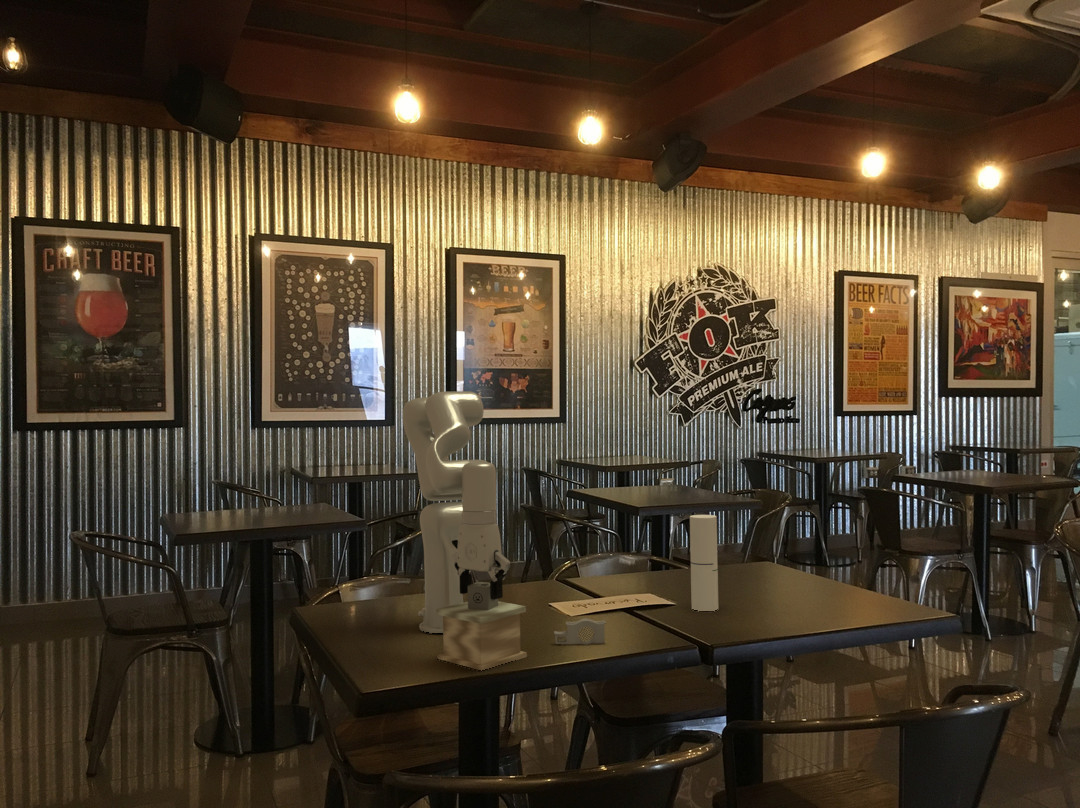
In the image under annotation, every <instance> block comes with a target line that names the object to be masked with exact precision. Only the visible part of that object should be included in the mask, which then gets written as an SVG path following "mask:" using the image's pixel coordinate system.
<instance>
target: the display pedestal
mask: <svg viewBox="0 0 1080 808" xmlns="http://www.w3.org/2000/svg"><path fill="white" fill-rule="evenodd" d="M526 612H527V606H526V605H520V604H515V603H510V602H505V601H499V600H498V606H496V607H494V608H492V609H490V610H478V609H468V601H465V602H464V601H463V603H460V604H455V605H451V606H447V607H443V608H439V609H436V614H437V615H441V616H443V634H442V637H443V639H442V640H443V642H442V643H443V648H442V649H443V653H440V654H437V656H436V658H438V659H441V660H446V661H449V662H453V663H456V664H459V665H463V666H467V667H471V668H474V669H478V670H481V671H482V670H485V669H488V670H490V669H489V668H491V669H493V668H492V667H494V668H496V667H495V666H497V667H499V666H498V665H500V666H502V665H501V664H503V665H506V664H505V663H507V664H509V663H508V662H510V663H512V662H511V661H513V662H516V661H518V660H521V659H525V658H528V653H527V652H526V651H522V650H521V614H524V613H526ZM515 660H516V661H515ZM459 665H458V666H459ZM474 669H473V670H474ZM478 670H477V671H478ZM481 671H480V672H481ZM485 671H486V670H485ZM482 672H483V671H482Z"/></svg>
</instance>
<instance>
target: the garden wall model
mask: <svg viewBox="0 0 1080 808" xmlns="http://www.w3.org/2000/svg"><path fill="white" fill-rule="evenodd" d="M606 623H607V622H606V620H600V621H597V620H596V621H595V620H593V619H590V618H587V617H585V618H581V619H580V620H577V621H565V625H566V626H567V627H566V630H564V631H556V630H554V631H553V634H554V635H555V637H554V638H555V640H554V641H555V643H554V644H555V645H556V644H561V645H592V644H593V645H594V644H605V640H606V639H605V625H606Z"/></svg>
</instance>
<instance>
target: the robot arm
mask: <svg viewBox="0 0 1080 808" xmlns="http://www.w3.org/2000/svg"><path fill="white" fill-rule="evenodd" d="M484 409H485V408H484V403H483V401H482V399H481V397H480V396H479V394H478V393H476V392H474V391H466V390H465V391H464V390H463V391H457V390H456V391H438V392H434V393H433V394H431V395H430V396H427V397H426V396H425V397H418V398H417V397H416V398H412V399H409V400H408V401H407V402H405V404H404V406H403V410H402V425H403V428H404V433H405V436H406V438H407V440H408V442H409V444H410V447H411V448H412V451H413V453H414V457H415V463H416V469H417V476H418V481H419V486H420V487H419V488H420V491H421V494H422V496H423V498H424V499H426V500H427V501H430V502H435V503H431V504H428V505H426V506H425V507H423V509H421V512H420V515H419V527H420V531H421V536H422V537H421V538H422V544H423V545H422V546H423V560H424V561H423V562H424V568H423V569H424V607H422V609H421V610H418V611H417V615H418V616H419V617H422V618H423V619H422V620H423V621H422V622H421V623H419V626H418V627H419V628H418V629H419V630H420V631H421V632H423V631H424V632H423V633H426V632H429V633H428V634H432V633H443V616H441V615H437V614H436V609H439V608H443V607H447V606H451V605H455V604H460V603H464V595H465V594H468V586H469V585H471V584H473V580H472V579H473V577H472V574H471V572H478V573H488V575H489V576H490V578H491V580H490V581H489V583H490V598H491V599H492V600H495V599H498V600H499V599H501V598H503V597H504V595H503V592H504V591H503V590H504V589H503V581H504V580H505V578H506V576H507V575H508V573H509V572H508V571H509V568H510V567H511V561H510V560H509V559H508V558H507V557H505V556H504V555H503V554H502V542H501V541H502V540H501V534H500V529H499V525H498V524H497V522H498V521H497V519H498V518H497V515H498V513H497V476H496V475H497V473H496V467H495V465H494V464H493V463H492V462H488V461H486V460H485V459H455V460H454V459H451V460H450V459H449V456H450V455H453V454H454V453H456V452H459V451H460V450H462V449H464V448H465V446H467V444H468V443H469V441H470V439H471V430H470V428H471V427H474V426H477V425H479V424H480V422H482V420H483V417H484V413H485V412H484ZM444 501H445V502H444ZM453 541H457V548H456V546H455V545H454V544H453Z"/></svg>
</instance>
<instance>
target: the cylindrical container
mask: <svg viewBox="0 0 1080 808" xmlns="http://www.w3.org/2000/svg"><path fill="white" fill-rule="evenodd" d="M717 525H718V519H717V515H713V514H693V515H690V516H689V535H690V536H689V540H690V541H689V543H690V544H689V545H690V546H689V547H690V551H689V552H690V587H691V588H690V589H691V590H690V593H691V596H690V597H691V598H690V599H691V610H692V609H694V610H698V611H697V612H699V611H714V612H716V611H715V610H717V609H718V610H719V573H718V572H719V570H718V566H719V565H718V526H717ZM694 610H693V611H694ZM718 610H717V611H718Z"/></svg>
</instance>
